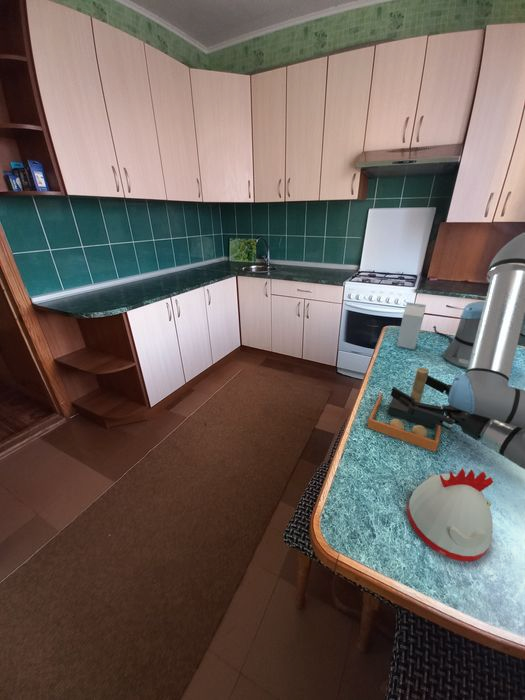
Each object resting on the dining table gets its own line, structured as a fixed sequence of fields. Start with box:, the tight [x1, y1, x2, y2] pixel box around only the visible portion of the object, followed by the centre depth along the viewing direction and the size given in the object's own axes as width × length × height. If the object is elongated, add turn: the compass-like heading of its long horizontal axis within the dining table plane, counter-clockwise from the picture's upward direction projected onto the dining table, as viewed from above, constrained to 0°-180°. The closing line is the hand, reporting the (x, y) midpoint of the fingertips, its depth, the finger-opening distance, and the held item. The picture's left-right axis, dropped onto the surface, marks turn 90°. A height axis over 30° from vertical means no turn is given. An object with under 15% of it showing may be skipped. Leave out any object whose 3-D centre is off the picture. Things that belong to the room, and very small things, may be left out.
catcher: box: [366, 392, 442, 453], centre depth 83 cm, size 15×17×3 cm
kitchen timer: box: [406, 467, 494, 562], centre depth 54 cm, size 14×14×15 cm
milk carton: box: [396, 301, 427, 350], centre depth 123 cm, size 7×7×19 cm
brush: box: [387, 367, 435, 429], centre depth 82 cm, size 5×12×16 cm, turn 57°
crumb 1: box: [389, 418, 405, 430], centre depth 80 cm, size 4×4×4 cm
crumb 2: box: [411, 424, 428, 438], centre depth 78 cm, size 4×4×4 cm
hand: (408, 384), depth 84 cm, fingers open, 13 cm apart
